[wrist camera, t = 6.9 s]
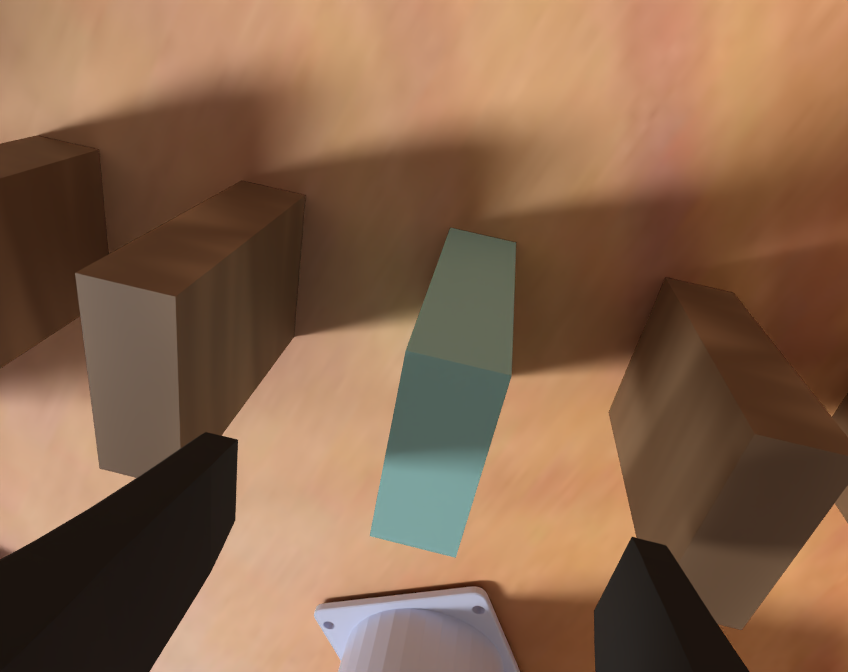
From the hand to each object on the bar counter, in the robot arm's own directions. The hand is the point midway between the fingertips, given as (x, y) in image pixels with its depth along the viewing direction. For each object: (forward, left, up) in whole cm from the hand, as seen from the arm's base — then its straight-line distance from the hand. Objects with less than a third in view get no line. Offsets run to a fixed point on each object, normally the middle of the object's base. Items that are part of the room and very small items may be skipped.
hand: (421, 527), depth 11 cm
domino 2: (+3, +6, -9) cm, 11 cm away
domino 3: (0, 0, -9) cm, 9 cm away
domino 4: (-3, -6, -9) cm, 11 cm away
